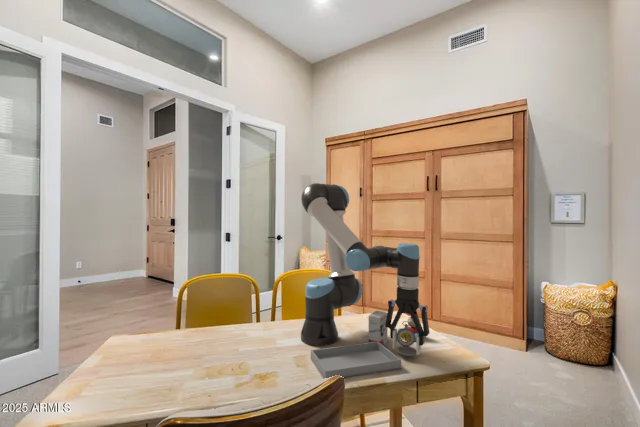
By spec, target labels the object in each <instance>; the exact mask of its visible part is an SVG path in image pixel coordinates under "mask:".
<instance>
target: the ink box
mask: <svg viewBox="0 0 640 427" xmlns="http://www.w3.org/2000/svg"><path fill="white" fill-rule="evenodd" d="M387 313H388V311H387V312H386V311H382V310H381V311H380V310H375V311H373V312H372V313H370V314H369V315H368V343H370V342H377V341H378V342H379V343H380V344H382V345H383V346H385V345H386V343H388V327H386V326H385V324H386V319H387Z"/></svg>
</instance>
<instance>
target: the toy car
mask: <svg viewBox="0 0 640 427" xmlns="http://www.w3.org/2000/svg"><path fill="white" fill-rule="evenodd" d="M406 321H407V322H406V323H407V325H409V323H410V325H409V326H407V328H408V329H411V330H412V331H413V332H414V334H415V342H417V335H418V332H417V329H416V326H415V324H414V321H413V318H412V317H411V315H409V317H408V318H407V320H406ZM408 322H409V323H408ZM403 328H405V326H404V327H403ZM400 329H402V328H398V329H397V332H398V331H399V330H400ZM408 336H410V335H408ZM410 337H411V336H410ZM426 338H427V336H424V340H425V339H426ZM409 339H410V338H409Z"/></svg>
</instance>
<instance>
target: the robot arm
mask: <svg viewBox="0 0 640 427" xmlns="http://www.w3.org/2000/svg"><path fill="white" fill-rule="evenodd" d="M301 204H302V207H303V208H304V211H305V212H306V213H307V214H308V215H309V216H311V217H314V219H315V220H316V221H317V222H318V223H319V225H320V226H321V227H322V228H323V229H324V231H325V235H326V236H325V237H326V243H327V251H328V258H329V259H328V260H329V266H330V274H329V275H328V277H322V278H315V279H311V280H310V281H308V282H307V283H306V284H305V292H304V298H305V301H304V302H305V303H304V304H305V305H304V307H305V308H304V312H305V314H304V315H305V317H304V322H303V325H302V327H301V328H302V329H301V332H300V340H301V342H303V343H305V344H307V345H310V346H328V345H332V344H334V343H337V342H338V340H339V332H338V328H337V325H336V322H335V310H338V309H342V308H344V307H345V308H346V307H351V306H353V305H355V304H357V303H359V301H360V300H361V298H362V296H363V286H362V283H361V281H360V280H359V278H357V277H356V276H355V275H356V274H355V272H364V271H368V270H375V269H380V268H390V269H396V272H397V273H396V275H397V276H396V285H397V287H396V299H395V300H394V299H390V300H388V301H387V306H388V309H387V319H386V324H385V326H386V327H387V329H389V331H390V334H389V338H390V339H392V343H391V344H392V350H395V349H396V348H397V347H398V341H397V337H396V336H397V333H398V329H397V328H396V327H397V326H398V323H399V320H400V319H401V316H402V314H407V315H409V316H411V317H412V318H413V321H414V324H415V326H416V329H417V332H418V335H417V342H416V341H415V342H416V344H415V345H416V349H415V350H416V355H415V356H420V354H421V352H422V349H421V348H422V346H423V345H424V343H425V339H424V336H426V337H428V336H429V334H430V327H429V319H428V314H427V313H428V305H423V304H421V303H420V302H419V294H420V293H419V287H420V283H419V282H420V272H419V271H420V258H421V256H420V247H419V245H418V244H416V243H409V242H407V243H405V242H404V243H402V242H401V243H397V247H391V246H384V245H374V246H372V247H367V246H366V245H365V244H364V243H363V241H361V240H360V238H358V236H357V235H356V234H355V233H354V232H353V231H352V230H351V228H350V227H349V226H348V225H347V224H346V223H345V222H344V220H345V219H344V216H345V214H347V213H346V209H347V208H348V206H349V204H350V196H349V193H348V191H347V189H346V188H345V187H343V186H341V185H338V184H334V183H333V184H329V183H319V182H317V183H316V182H315V183H311V184H308V185H307V186H306V187H305V188H304V189H303V191H302V194H301ZM395 306H397V308H398V309H397V311H396V314H395V317H394V318H393V315H394V310H395V309H394V308H395ZM418 309H419V312H421V313H420V315H421V322H420V317H419V314H418V311H417V310H418ZM392 320H393V321H392ZM421 323H422V324H421Z"/></svg>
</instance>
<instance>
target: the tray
mask: <svg viewBox="0 0 640 427" xmlns="http://www.w3.org/2000/svg"><path fill="white" fill-rule="evenodd" d="M310 360H311V361H312V363H313V364H314V366H315V367H316V369H317V371H318V372H319V374H320V375H321V377H322V379H324V378H329V377H332V376H335V375H340V376H342V377H344V379H348V378H354V377H355V378H356V377H361V376H368V375H374V374H379V373H386V372H392V371H396V370H397V371H398V370H402V359H401V358H400V357H398V356H397V355H396V354H394V353H393V352H392V351H391V350H389V349H388V348H386V346H385V345H382V344H380V343H379V342H378V341H377V342H370V343H369V342H363V343H355V344H349V345H347V344H346V345H340V346H333V347H332V346H331V347H324V348H318V349H310Z"/></svg>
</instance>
